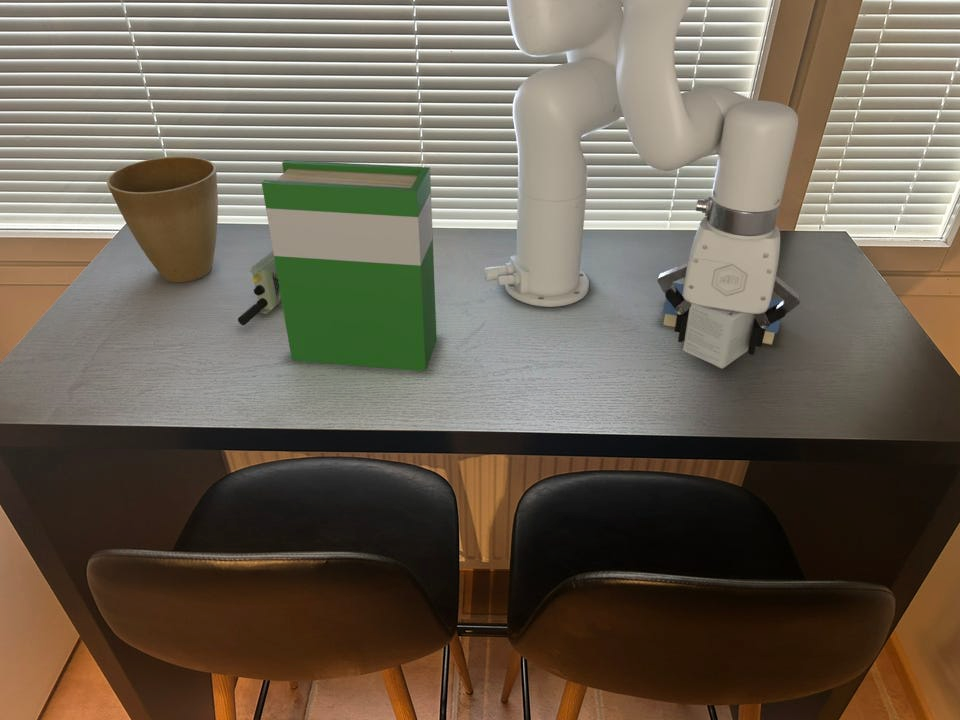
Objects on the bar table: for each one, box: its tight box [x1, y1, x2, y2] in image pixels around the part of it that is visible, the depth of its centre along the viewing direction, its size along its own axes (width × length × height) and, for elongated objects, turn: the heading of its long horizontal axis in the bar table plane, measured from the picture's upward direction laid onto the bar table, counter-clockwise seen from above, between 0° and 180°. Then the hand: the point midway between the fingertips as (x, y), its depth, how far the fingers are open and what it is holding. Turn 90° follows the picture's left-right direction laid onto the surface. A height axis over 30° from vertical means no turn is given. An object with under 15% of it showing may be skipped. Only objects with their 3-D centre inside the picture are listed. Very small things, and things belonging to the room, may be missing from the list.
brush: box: [662, 282, 783, 345], centre depth 104 cm, size 15×6×4 cm, turn 70°
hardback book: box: [261, 159, 438, 372], centre depth 93 cm, size 18×7×24 cm, turn 82°
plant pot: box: [106, 155, 219, 283], centre depth 114 cm, size 15×15×16 cm
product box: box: [682, 304, 755, 369], centre depth 95 cm, size 6×6×7 cm
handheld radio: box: [237, 250, 282, 326], centre depth 112 cm, size 7×3×25 cm
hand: (716, 342), depth 97 cm, fingers closed on product box, 8 cm apart
